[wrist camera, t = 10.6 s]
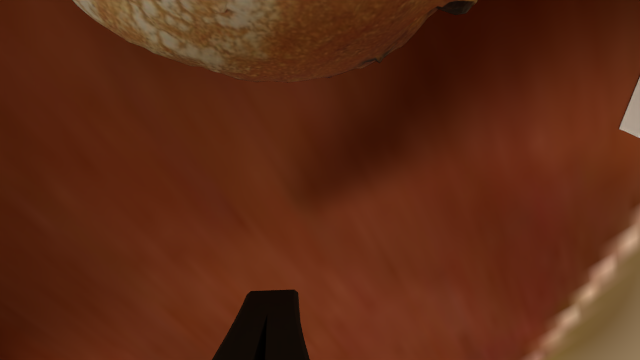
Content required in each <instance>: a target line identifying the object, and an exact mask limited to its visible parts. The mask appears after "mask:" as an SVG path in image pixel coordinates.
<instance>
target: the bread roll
mask: <svg viewBox="0 0 640 360" xmlns="http://www.w3.org/2000/svg"><path fill="white" fill-rule="evenodd" d="M73 1H74V2H75V4H76V5H77V6H79V7H80V8H81V9H82V10H83V11H84V12H85V13H87V14H88V15H89V16H90V17H91V18H92V19H94V20H95V21H97V22H98V23H100V24H101V25H103V26H104V27H106V28H107V29H109V30H111V31H112V32H114V33H115V34H117V35H119V36H120V37H122V38H123V39H125V40H126V41H128V42H130V43H133V44H136V45H138V46H141V47H144V48H146V49H148V50H150V51H151V52H153V53H155V54H158V55H161V56H164V57H167V58H170V59H173V60H175V61H178V62H181V63H184V64H187V65H190V66H201V67H204V68H206V69H208V70H211V71H215V72H218V73H222V74H225V75H228V76H231V77H233V78H236V79H240V80H246V81H253V82H262V81H276V82H287V83H289V82H296V81H304V80H310V79H316V78H321V77H326V78H330V77H332V76H334V75H338V74H341V73H344V72H347V71H350V70H352V69H355V68H361V69H362V68H364V67H366V66H368V65H370V64H371V63H373V62H375V61H377V62H379V63H380V62H381V61H382V59H383V58H384V57H385V56H387V55H388V54H390V53H391V52H392V51H394V50H396V49H398V48H400V47H402V46H403V45H404V44H405V43H406V42H407V41H408V40H409V39H410V38H411V37H412V36H413V35H414V34H415V33H416V32H417V30H418V29H419V28H420V27H421V26H422V24H423V23H424V22H425V21H426V19H427V18H428V17H430V16H431V15H432V14H433V13H435V12H436V11H437V10H438V9H440V10H442V11H445V12H448V13H451V14H454V15H458V14H465V13H467V12H468V10H469V9H470V8H471V7H472V6H473V5H474V4H475V3H477V1H478V0H73Z"/></svg>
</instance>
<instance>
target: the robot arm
mask: <svg viewBox="0 0 640 360" xmlns="http://www.w3.org/2000/svg"><path fill="white" fill-rule="evenodd" d="M212 360H310V359H309V356H308V352H307V348H306V345H305V341H304V337H303V333H302V328H301V323H300V312H299V298H298V292H296V291H295V290H271V291H250V292H249V293H248V294H247V296H246V298H245V300H244V303H243V305H242V307H241V309H240V311H239V313H238V315H237V317H236V319H235V320H234V322H233V324H232V326H231V328H230V330H229V331H228V333H227V335H226V337H225V339H224V340H223V342H222V344H221V345H220V347H219V349H218V350H217V352H216V354H215V355H214V357H213V359H212Z"/></svg>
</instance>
